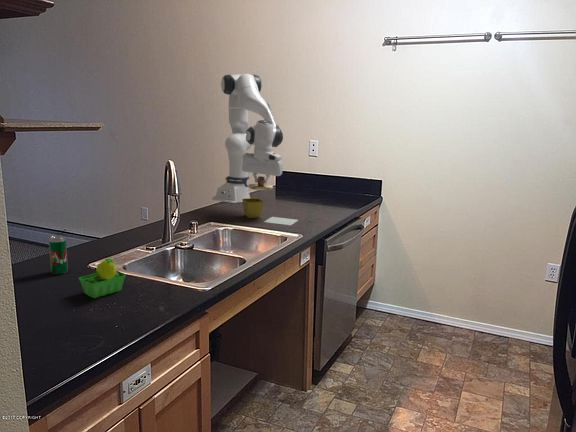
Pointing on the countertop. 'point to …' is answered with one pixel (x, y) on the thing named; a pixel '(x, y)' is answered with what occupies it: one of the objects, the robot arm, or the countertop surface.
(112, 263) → the fruit basket
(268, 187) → the lid
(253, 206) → the flower pot
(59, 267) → the soda can
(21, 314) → the countertop surface
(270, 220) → the mat
